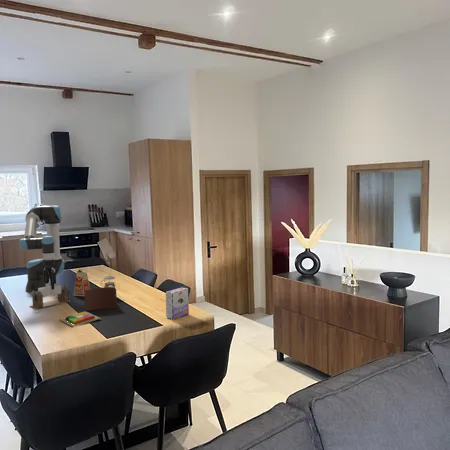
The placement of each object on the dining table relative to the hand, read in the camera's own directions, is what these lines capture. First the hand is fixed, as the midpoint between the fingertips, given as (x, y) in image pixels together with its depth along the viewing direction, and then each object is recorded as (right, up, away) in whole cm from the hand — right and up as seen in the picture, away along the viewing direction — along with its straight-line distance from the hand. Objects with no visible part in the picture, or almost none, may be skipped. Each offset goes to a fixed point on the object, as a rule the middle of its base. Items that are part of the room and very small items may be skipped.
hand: (50, 293), depth 287 cm
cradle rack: (0, -7, +1) cm, 7 cm away
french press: (+34, -6, +20) cm, 40 cm away
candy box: (+89, -10, -28) cm, 94 cm away
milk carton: (+13, -5, +26) cm, 30 cm away
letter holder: (+36, -8, -7) cm, 38 cm away
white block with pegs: (0, -1, 0) cm, 1 cm away
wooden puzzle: (+32, -11, -34) cm, 48 cm away
